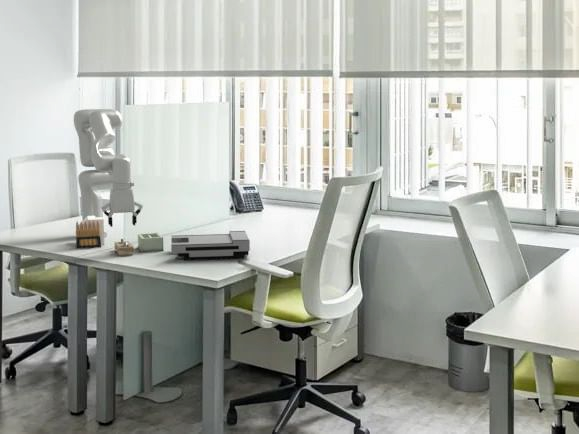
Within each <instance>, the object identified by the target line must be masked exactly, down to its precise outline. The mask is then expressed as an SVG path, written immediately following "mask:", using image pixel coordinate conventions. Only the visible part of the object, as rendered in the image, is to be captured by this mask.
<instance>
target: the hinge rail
mask: <svg viewBox="0 0 579 434" xmlns="http://www.w3.org/2000/svg"><path fill="white" fill-rule="evenodd" d="M124 241H125V239H124V238H120V242H121V244H124V247H127V242H124ZM133 255H134V254H127V255H119V256H120V257H127V256H128V257H129V256H133Z"/></svg>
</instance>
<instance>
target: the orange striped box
mask: <svg viewBox="0 0 579 434" xmlns="http://www.w3.org/2000/svg"><path fill="white" fill-rule="evenodd" d="M81 221H82V220H81ZM85 221H86V223H87V230H88V224H89V221H90V223H91V229H92V227H93V221H94V222H95V228H96V229H97V221H99V227H100V238H101V245H102V246H105V237H104V232H105V226H104V221H105V220H104V216H103V217H95V216H87V217H86V218H85V219H84V220H83V221H82V224H83V230H84V223H85ZM78 224H79V231H80V223H78ZM96 236H97V234H96ZM96 241H97V239H96ZM88 244H89V243H88ZM92 244H93V239H92Z"/></svg>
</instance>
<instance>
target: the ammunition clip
mask: <svg viewBox="0 0 579 434" xmlns="http://www.w3.org/2000/svg"><path fill="white" fill-rule="evenodd" d="M79 224H80V231H79ZM96 234H97V236H96ZM92 239H93V244H92ZM96 239H97V241H96ZM88 243H89V244H88ZM75 245H76V246H75V249H77V248H78V249H93V248H94V247H98V248H102V246H101V238H100V227H99V221H97V229H96V228H95V222H94V221H93V227H92V229H91V223H90V221H89V224H88V230H87V223H86V221H85V223H84V230H83V224H82V220H81V221H80V222H79V221H76V224H75ZM94 249H95V248H94Z"/></svg>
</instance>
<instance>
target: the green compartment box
mask: <svg viewBox="0 0 579 434" xmlns="http://www.w3.org/2000/svg"><path fill="white" fill-rule="evenodd" d="M137 244H138V245H137V248H138V249H139V250H140V251H141V252H142V253H153V252H163V251H164V237H163V236H162V235H161V234H160V233H159V232H149V233H138V234H137Z"/></svg>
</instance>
